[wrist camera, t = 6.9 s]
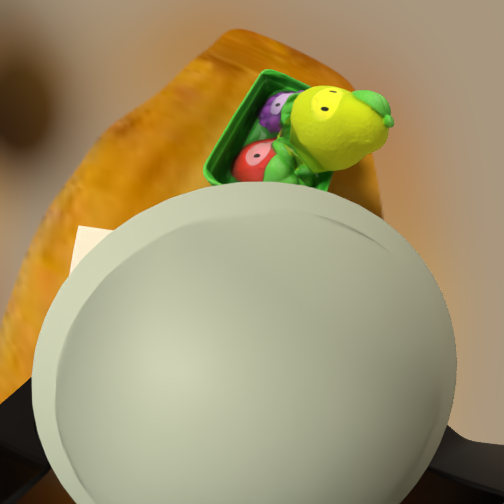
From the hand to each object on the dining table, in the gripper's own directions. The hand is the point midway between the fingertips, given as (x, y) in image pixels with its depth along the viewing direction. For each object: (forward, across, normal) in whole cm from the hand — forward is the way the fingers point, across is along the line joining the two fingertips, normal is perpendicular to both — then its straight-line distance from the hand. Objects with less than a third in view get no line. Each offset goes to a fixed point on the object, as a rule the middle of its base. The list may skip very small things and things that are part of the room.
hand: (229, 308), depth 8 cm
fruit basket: (+17, -4, +1) cm, 17 cm away
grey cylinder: (+3, 0, +5) cm, 6 cm away
